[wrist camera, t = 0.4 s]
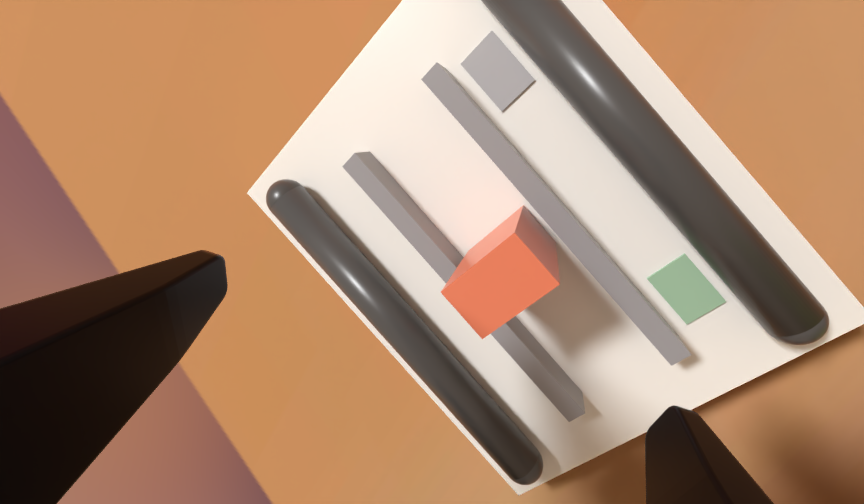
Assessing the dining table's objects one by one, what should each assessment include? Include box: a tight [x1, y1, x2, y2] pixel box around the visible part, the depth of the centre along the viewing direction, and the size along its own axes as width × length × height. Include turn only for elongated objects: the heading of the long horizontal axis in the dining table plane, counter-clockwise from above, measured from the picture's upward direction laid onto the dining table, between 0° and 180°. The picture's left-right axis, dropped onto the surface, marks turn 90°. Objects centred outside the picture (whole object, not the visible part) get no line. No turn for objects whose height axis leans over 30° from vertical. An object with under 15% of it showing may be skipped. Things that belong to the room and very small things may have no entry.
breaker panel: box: [247, 0, 864, 495], centre depth 17 cm, size 20×16×4 cm
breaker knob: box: [441, 205, 560, 339], centre depth 15 cm, size 2×3×5 cm, turn 133°
